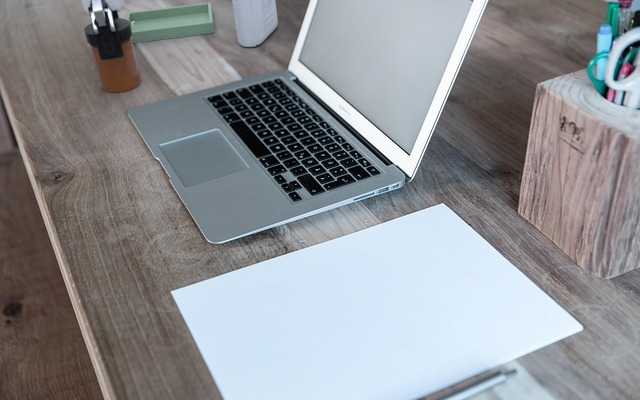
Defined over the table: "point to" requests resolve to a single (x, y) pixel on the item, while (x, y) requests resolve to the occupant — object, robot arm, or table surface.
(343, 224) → the table surface
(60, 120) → the table surface
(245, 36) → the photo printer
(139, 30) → the tray
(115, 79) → the jar
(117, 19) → the lid
